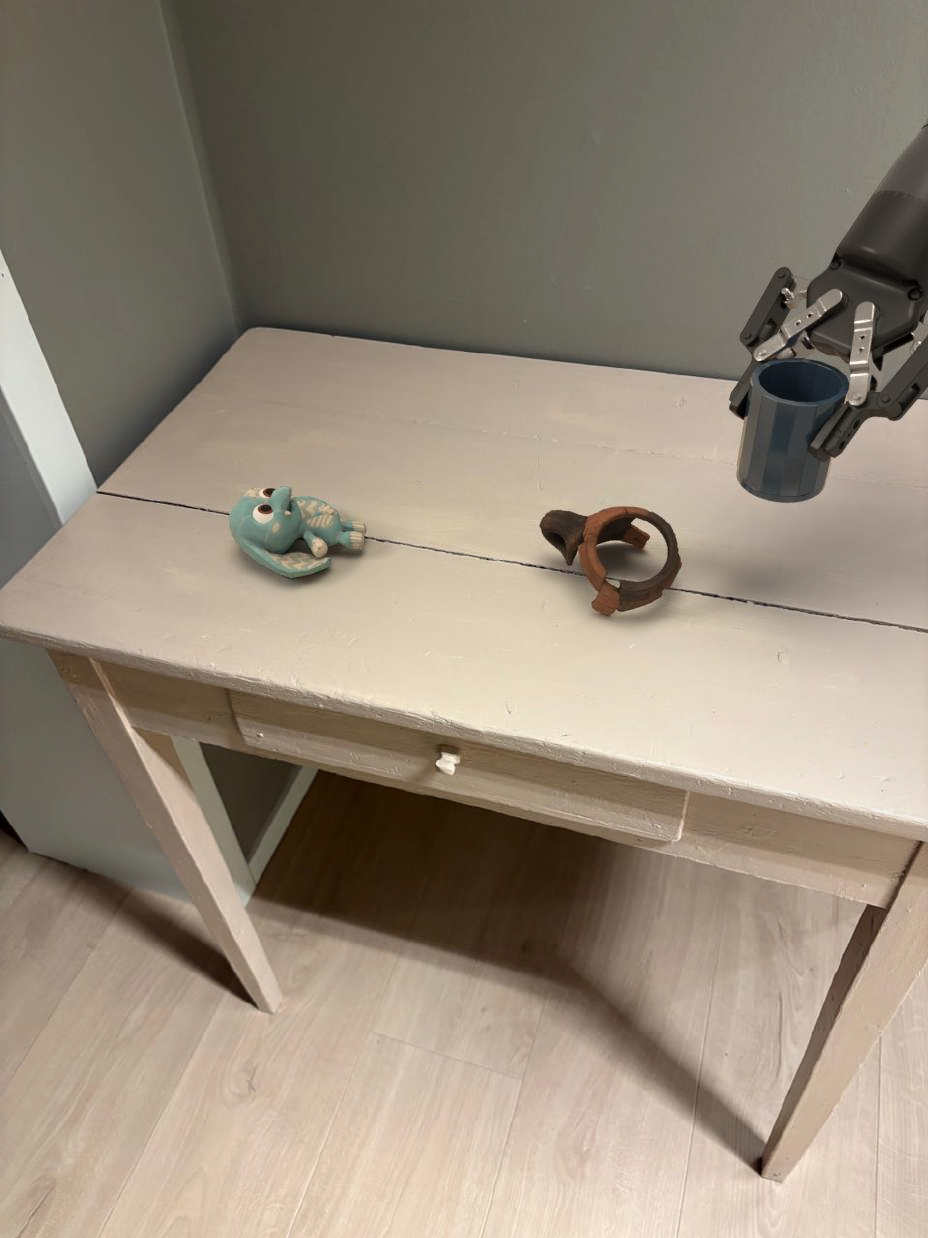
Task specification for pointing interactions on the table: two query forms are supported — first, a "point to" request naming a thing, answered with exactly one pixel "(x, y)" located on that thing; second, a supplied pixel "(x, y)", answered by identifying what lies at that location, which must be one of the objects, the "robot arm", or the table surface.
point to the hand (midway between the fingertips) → (775, 434)
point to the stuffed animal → (290, 530)
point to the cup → (787, 428)
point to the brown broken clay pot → (601, 527)
